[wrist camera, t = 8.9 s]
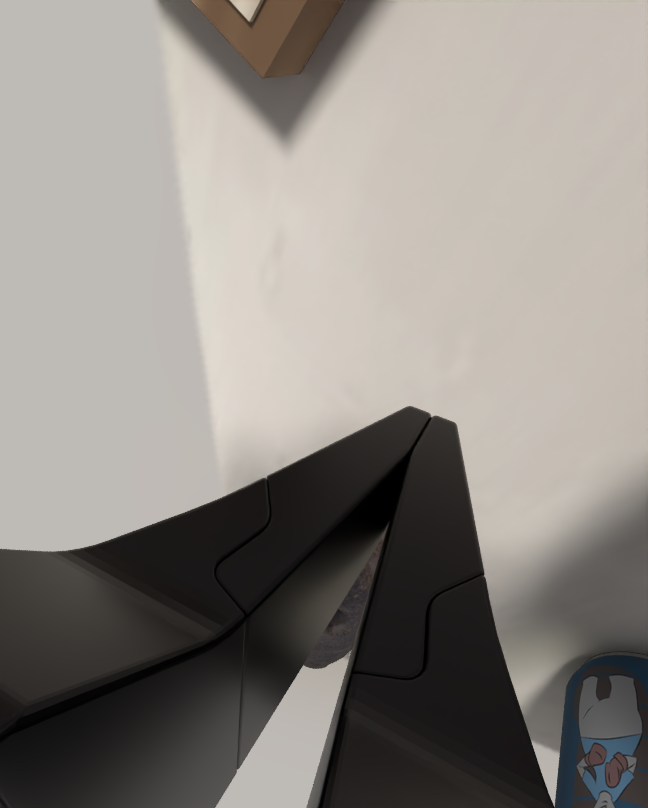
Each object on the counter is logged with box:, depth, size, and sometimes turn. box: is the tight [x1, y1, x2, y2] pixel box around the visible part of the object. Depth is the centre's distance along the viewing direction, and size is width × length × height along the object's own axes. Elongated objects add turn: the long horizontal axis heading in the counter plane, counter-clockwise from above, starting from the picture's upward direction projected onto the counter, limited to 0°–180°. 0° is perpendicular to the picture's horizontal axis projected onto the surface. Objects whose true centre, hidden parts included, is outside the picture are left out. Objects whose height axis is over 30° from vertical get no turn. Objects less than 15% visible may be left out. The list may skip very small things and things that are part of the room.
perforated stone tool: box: [303, 527, 388, 669], centre depth 29 cm, size 15×5×7 cm, turn 169°
